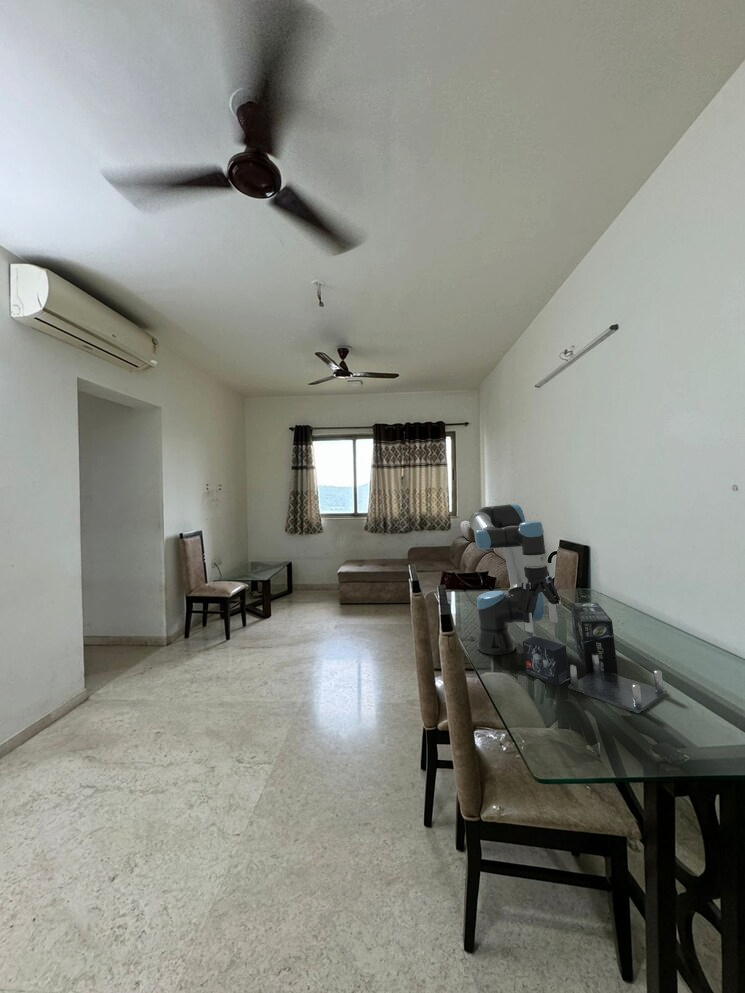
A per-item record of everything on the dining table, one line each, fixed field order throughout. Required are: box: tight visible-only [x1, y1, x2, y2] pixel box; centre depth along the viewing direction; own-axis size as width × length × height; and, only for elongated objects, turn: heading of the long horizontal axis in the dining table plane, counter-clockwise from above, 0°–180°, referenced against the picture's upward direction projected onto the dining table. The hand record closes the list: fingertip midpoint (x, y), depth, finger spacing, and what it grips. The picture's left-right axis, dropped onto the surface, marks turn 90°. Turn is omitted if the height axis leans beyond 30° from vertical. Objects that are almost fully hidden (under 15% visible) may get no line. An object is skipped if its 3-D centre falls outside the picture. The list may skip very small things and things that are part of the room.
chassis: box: [568, 653, 668, 714], centre depth 124 cm, size 21×17×7 cm
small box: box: [522, 635, 571, 687], centre depth 138 cm, size 13×7×12 cm, turn 29°
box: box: [570, 601, 619, 675], centre depth 148 cm, size 23×10×19 cm, turn 162°
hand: (542, 626), depth 139 cm, fingers open, 13 cm apart
